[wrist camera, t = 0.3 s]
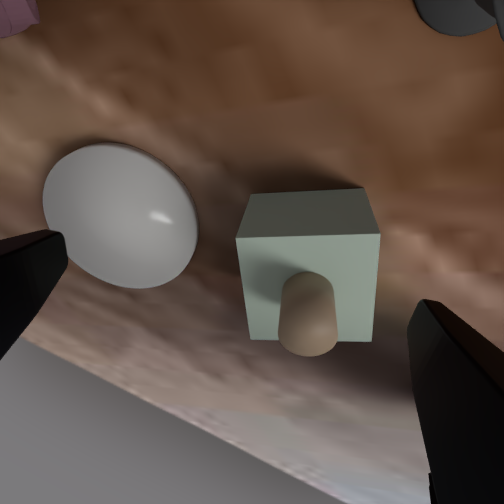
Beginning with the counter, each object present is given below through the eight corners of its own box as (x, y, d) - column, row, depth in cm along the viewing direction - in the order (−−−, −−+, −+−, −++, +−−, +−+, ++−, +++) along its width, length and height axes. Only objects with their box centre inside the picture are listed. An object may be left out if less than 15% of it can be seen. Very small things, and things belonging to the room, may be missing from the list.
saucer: (230, 236, 24) (227, 244, 23) (131, 300, 28) (126, 309, 27) (116, 106, 20) (108, 109, 19) (23, 201, 24) (13, 207, 23)
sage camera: (359, 281, 24) (381, 388, 17) (261, 282, 25) (242, 383, 18) (364, 188, 21) (394, 271, 14) (251, 193, 22) (222, 273, 15)
